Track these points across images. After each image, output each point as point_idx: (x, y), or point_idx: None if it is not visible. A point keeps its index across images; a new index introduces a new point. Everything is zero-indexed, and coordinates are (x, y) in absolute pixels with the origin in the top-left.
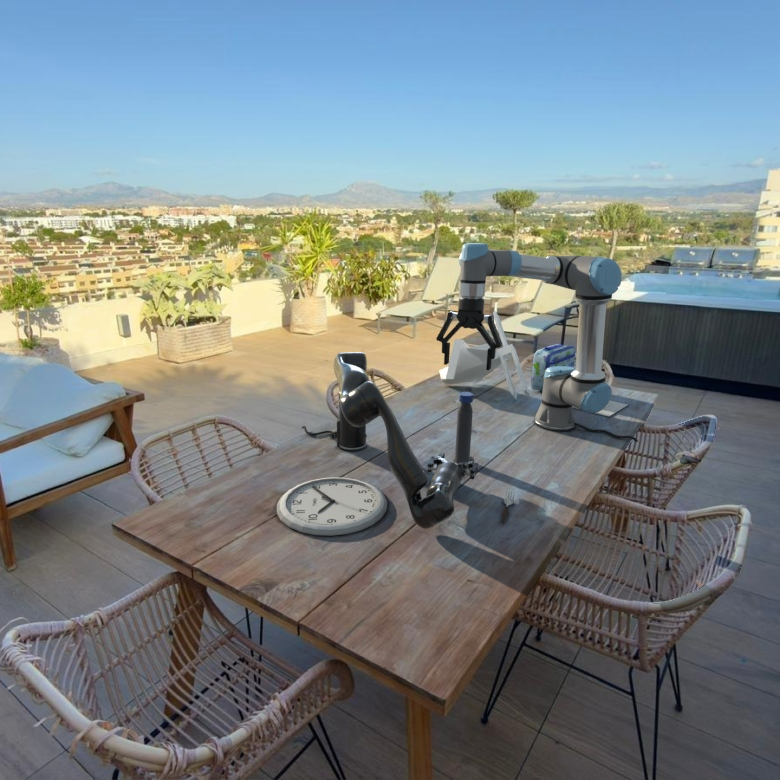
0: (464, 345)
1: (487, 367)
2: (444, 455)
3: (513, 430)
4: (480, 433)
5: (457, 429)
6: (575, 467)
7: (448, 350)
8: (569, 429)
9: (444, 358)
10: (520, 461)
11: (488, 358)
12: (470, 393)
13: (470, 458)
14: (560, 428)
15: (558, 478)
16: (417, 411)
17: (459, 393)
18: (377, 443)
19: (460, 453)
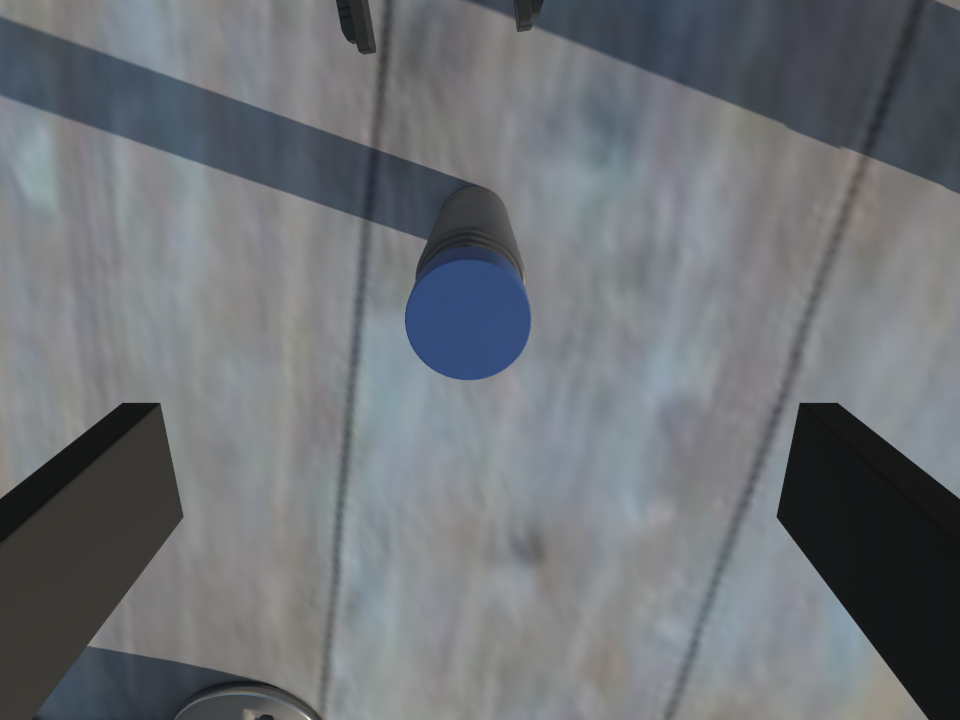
0: None
1: (119, 422)
2: (518, 27)
3: (376, 625)
4: (492, 544)
5: (505, 221)
6: (31, 392)
7: (923, 625)
8: (179, 710)
9: (893, 451)
10: (245, 347)
11: (6, 508)
12: (439, 352)
13: (356, 11)
14: (203, 696)
15: (45, 254)
16: (820, 648)
17: (529, 305)
18: (923, 234)
19: (473, 191)
